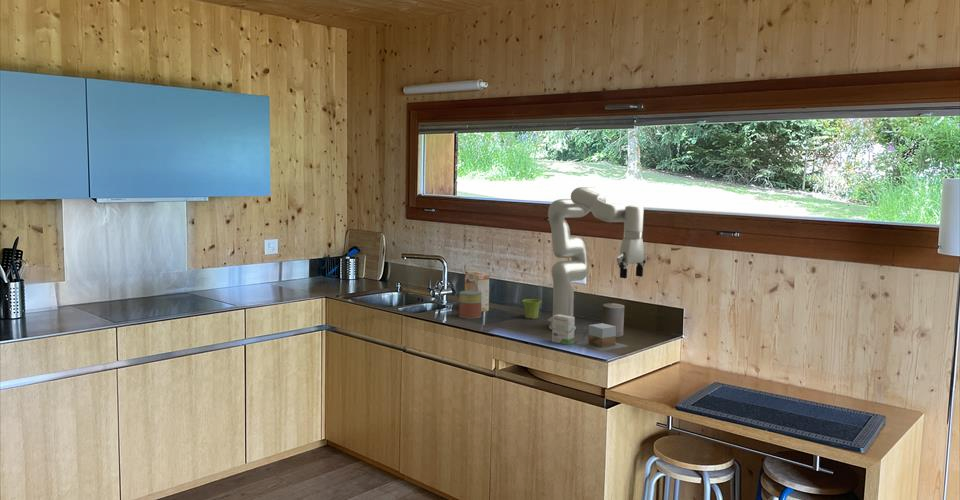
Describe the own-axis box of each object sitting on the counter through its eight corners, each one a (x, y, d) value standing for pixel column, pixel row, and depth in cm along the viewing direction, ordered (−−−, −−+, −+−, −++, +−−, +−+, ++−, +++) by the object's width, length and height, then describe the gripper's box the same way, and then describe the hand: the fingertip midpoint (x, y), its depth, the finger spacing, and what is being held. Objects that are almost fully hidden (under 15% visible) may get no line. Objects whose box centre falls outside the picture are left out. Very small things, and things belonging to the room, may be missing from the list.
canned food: (483, 314, 365) (484, 291, 364) (478, 319, 354) (478, 295, 353) (462, 313, 368) (462, 290, 367) (456, 317, 357) (456, 293, 356)
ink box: (574, 343, 307) (575, 316, 306) (567, 345, 303) (568, 318, 302) (558, 340, 313) (559, 313, 311) (551, 342, 309) (552, 315, 308)
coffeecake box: (463, 307, 385) (464, 270, 383) (475, 306, 389) (476, 270, 387) (477, 312, 372) (477, 274, 370) (489, 311, 376) (489, 273, 374)
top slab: (588, 334, 305) (588, 325, 305) (601, 332, 310) (602, 323, 309) (602, 338, 299) (602, 328, 298) (615, 335, 303) (616, 326, 303)
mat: (574, 344, 307) (574, 343, 306) (601, 339, 316) (601, 338, 316) (602, 351, 294) (602, 351, 294) (629, 346, 303) (629, 345, 303)
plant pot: (518, 317, 361) (518, 300, 360) (532, 315, 367) (532, 298, 366) (530, 320, 353) (530, 303, 353) (544, 318, 359) (545, 301, 358)
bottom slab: (588, 343, 306) (588, 334, 305) (601, 341, 310) (601, 332, 310) (601, 347, 299) (602, 338, 299) (615, 345, 304) (615, 335, 303)
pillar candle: (597, 333, 327) (598, 301, 325) (615, 332, 331) (616, 299, 329) (609, 338, 318) (610, 305, 316) (627, 337, 322) (629, 303, 320)
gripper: (640, 234, 304) (638, 274, 306) (611, 235, 293) (610, 277, 295) (654, 235, 298) (652, 276, 300) (625, 237, 287) (623, 279, 289)
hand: (631, 277), depth 297 cm, fingers open, 9 cm apart
